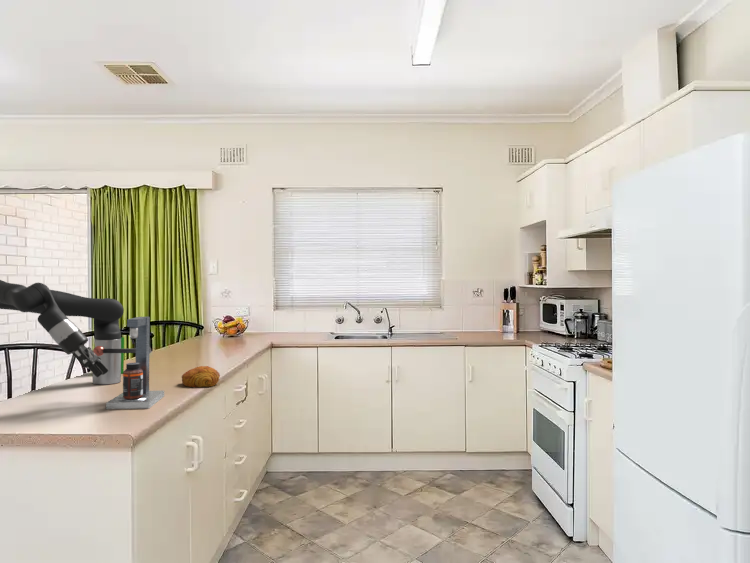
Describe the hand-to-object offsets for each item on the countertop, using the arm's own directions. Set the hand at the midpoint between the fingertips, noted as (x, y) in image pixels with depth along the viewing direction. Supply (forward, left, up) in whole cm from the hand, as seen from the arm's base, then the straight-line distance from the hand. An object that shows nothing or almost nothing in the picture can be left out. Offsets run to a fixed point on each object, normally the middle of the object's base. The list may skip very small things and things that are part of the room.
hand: (103, 374), depth 175 cm
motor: (-19, +62, -10) cm, 66 cm away
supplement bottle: (+9, 0, -8) cm, 12 cm away
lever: (+2, +13, +4) cm, 14 cm away
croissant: (+24, +34, -11) cm, 43 cm away
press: (+9, +4, -10) cm, 14 cm away
